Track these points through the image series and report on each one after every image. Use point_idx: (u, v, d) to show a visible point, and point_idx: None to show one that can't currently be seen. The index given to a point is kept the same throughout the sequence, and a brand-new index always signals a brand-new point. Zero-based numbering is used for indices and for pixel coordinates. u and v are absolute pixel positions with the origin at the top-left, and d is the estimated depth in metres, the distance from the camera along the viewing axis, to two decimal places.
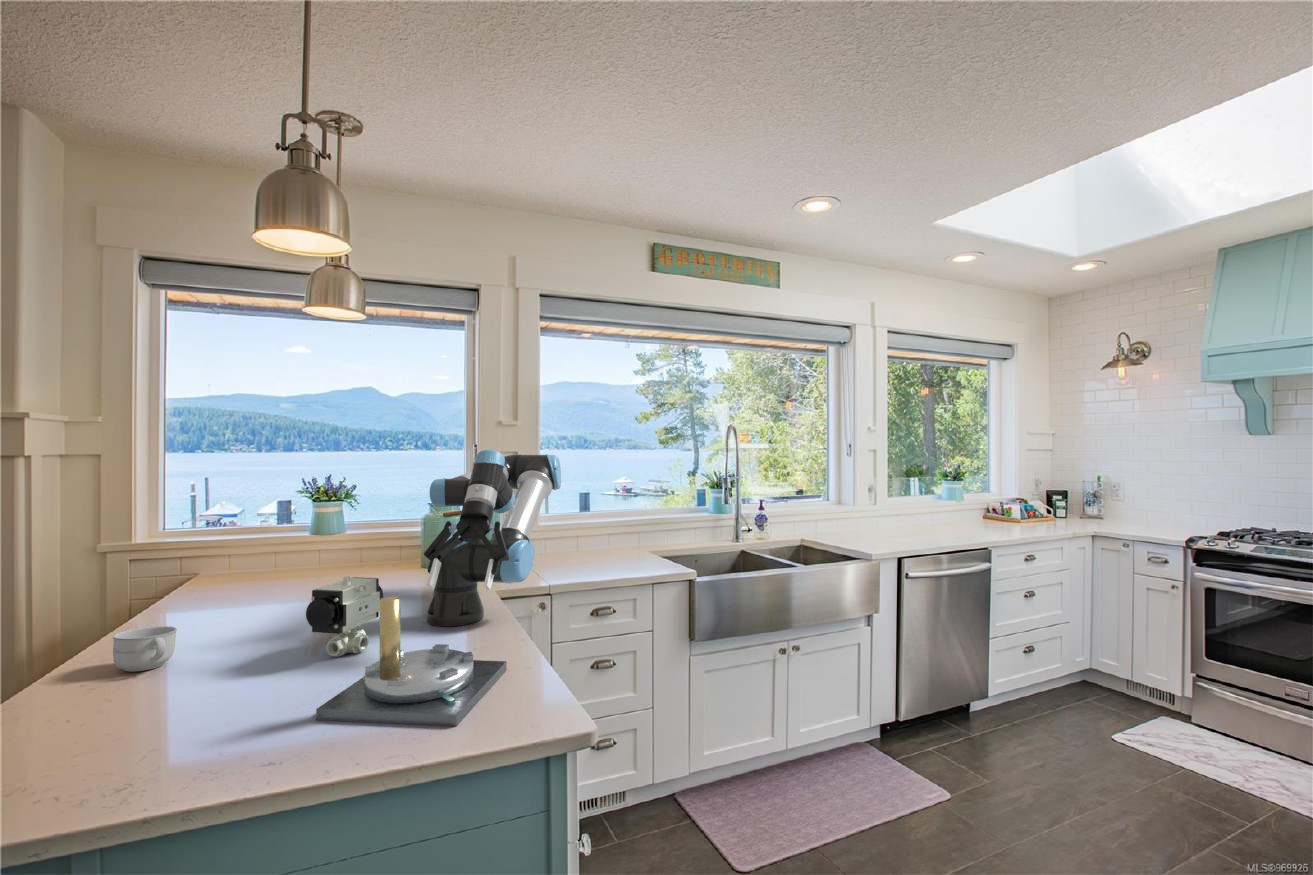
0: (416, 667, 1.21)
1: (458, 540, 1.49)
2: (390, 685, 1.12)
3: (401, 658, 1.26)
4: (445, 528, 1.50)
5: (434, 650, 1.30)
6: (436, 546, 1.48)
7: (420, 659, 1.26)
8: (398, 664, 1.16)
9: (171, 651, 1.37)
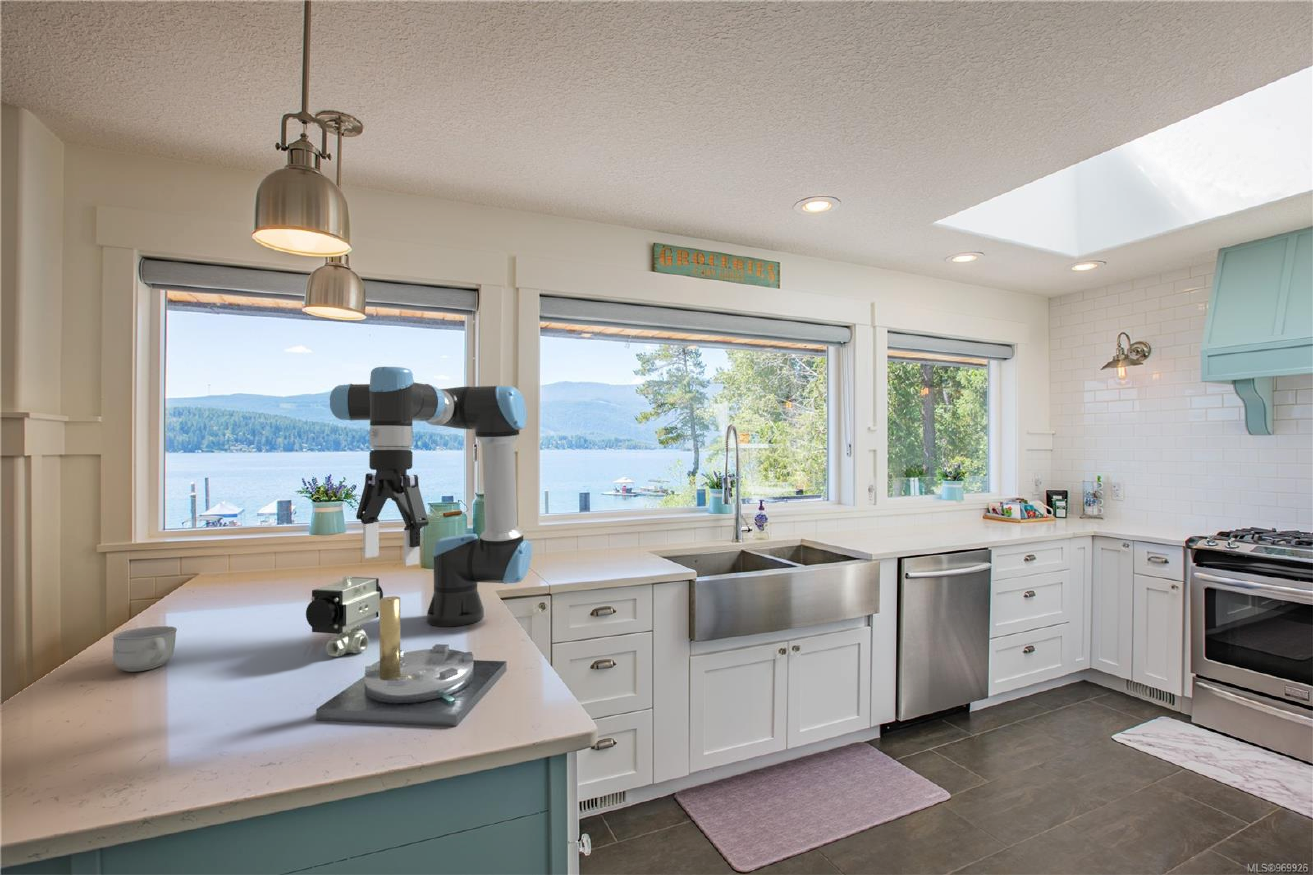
0: (416, 667, 1.21)
1: (382, 497, 1.19)
2: (390, 685, 1.12)
3: (401, 658, 1.26)
4: (366, 483, 1.20)
5: (434, 650, 1.30)
6: (365, 506, 1.21)
7: (420, 659, 1.26)
8: (398, 664, 1.16)
9: (171, 651, 1.37)
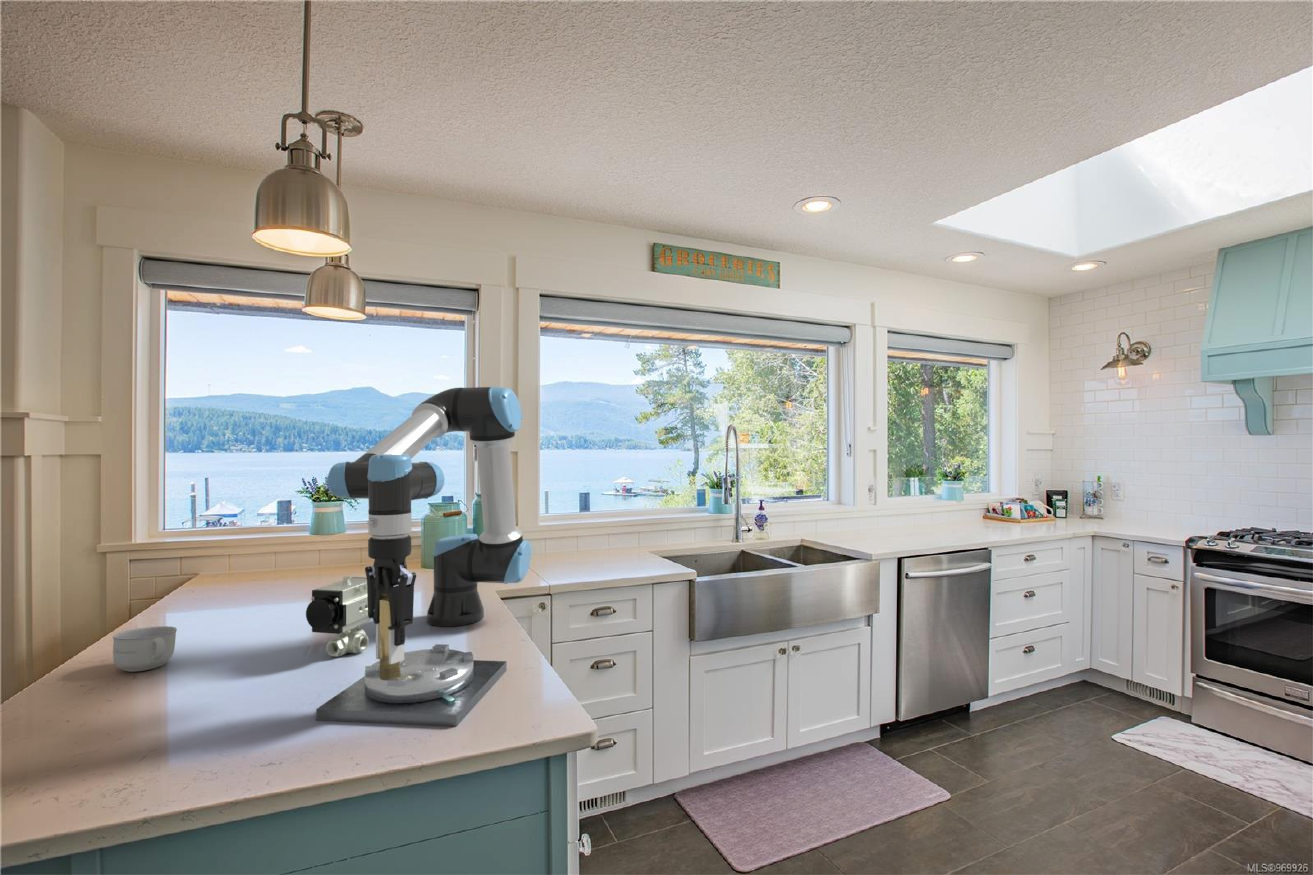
0: (416, 667, 1.21)
1: None
2: (390, 685, 1.12)
3: None
4: (367, 577, 1.19)
5: (434, 650, 1.30)
6: (374, 601, 1.18)
7: (420, 659, 1.26)
8: (398, 664, 1.16)
9: (171, 651, 1.37)
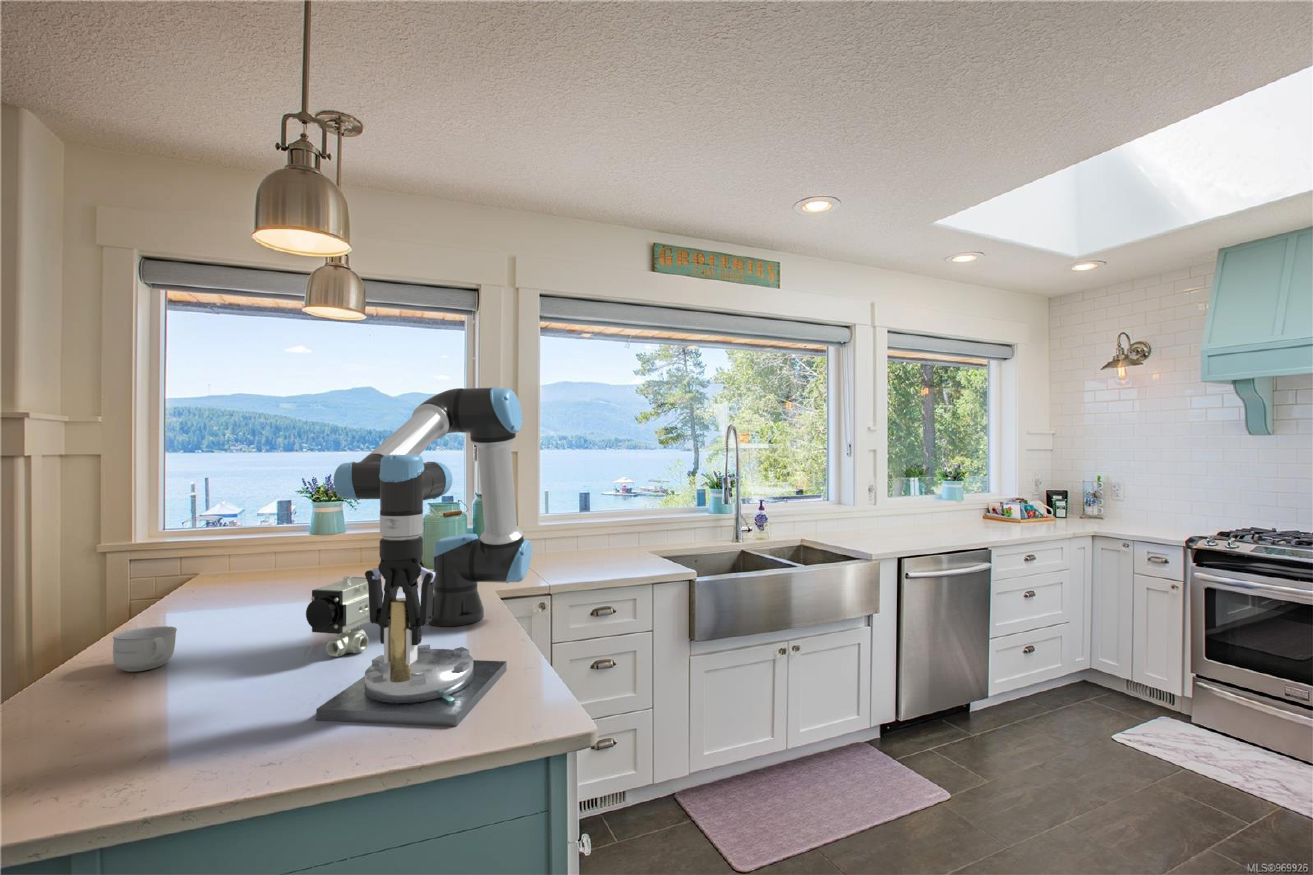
0: (417, 667, 1.21)
1: (394, 588, 1.16)
2: (412, 685, 1.12)
3: None
4: (370, 581, 1.15)
5: (417, 651, 1.29)
6: (377, 605, 1.15)
7: None
8: (410, 665, 1.16)
9: (171, 651, 1.37)
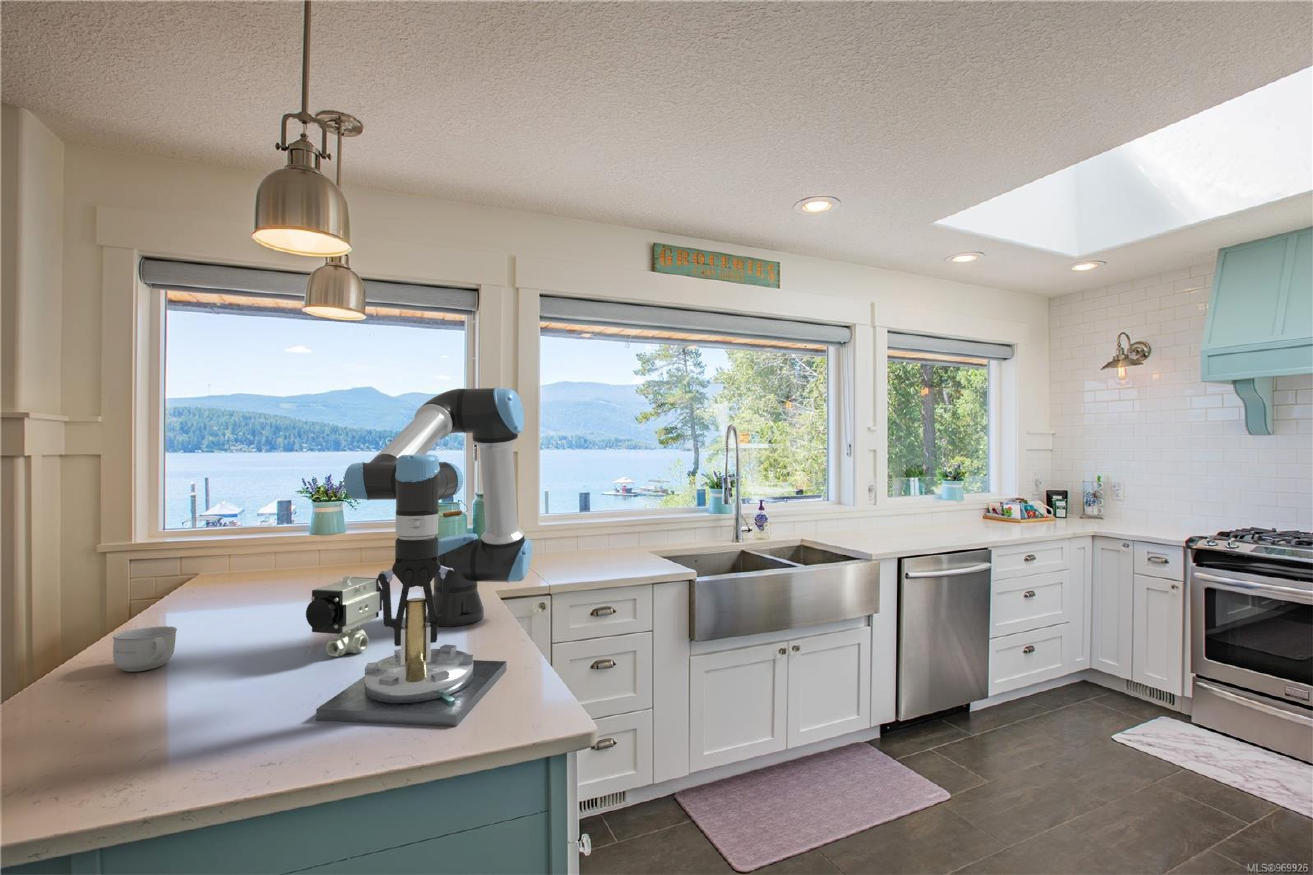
0: None
1: None
2: (438, 680, 1.14)
3: (383, 668, 1.20)
4: (384, 584, 1.13)
5: (400, 655, 1.27)
6: (390, 608, 1.13)
7: None
8: None
9: (171, 651, 1.37)
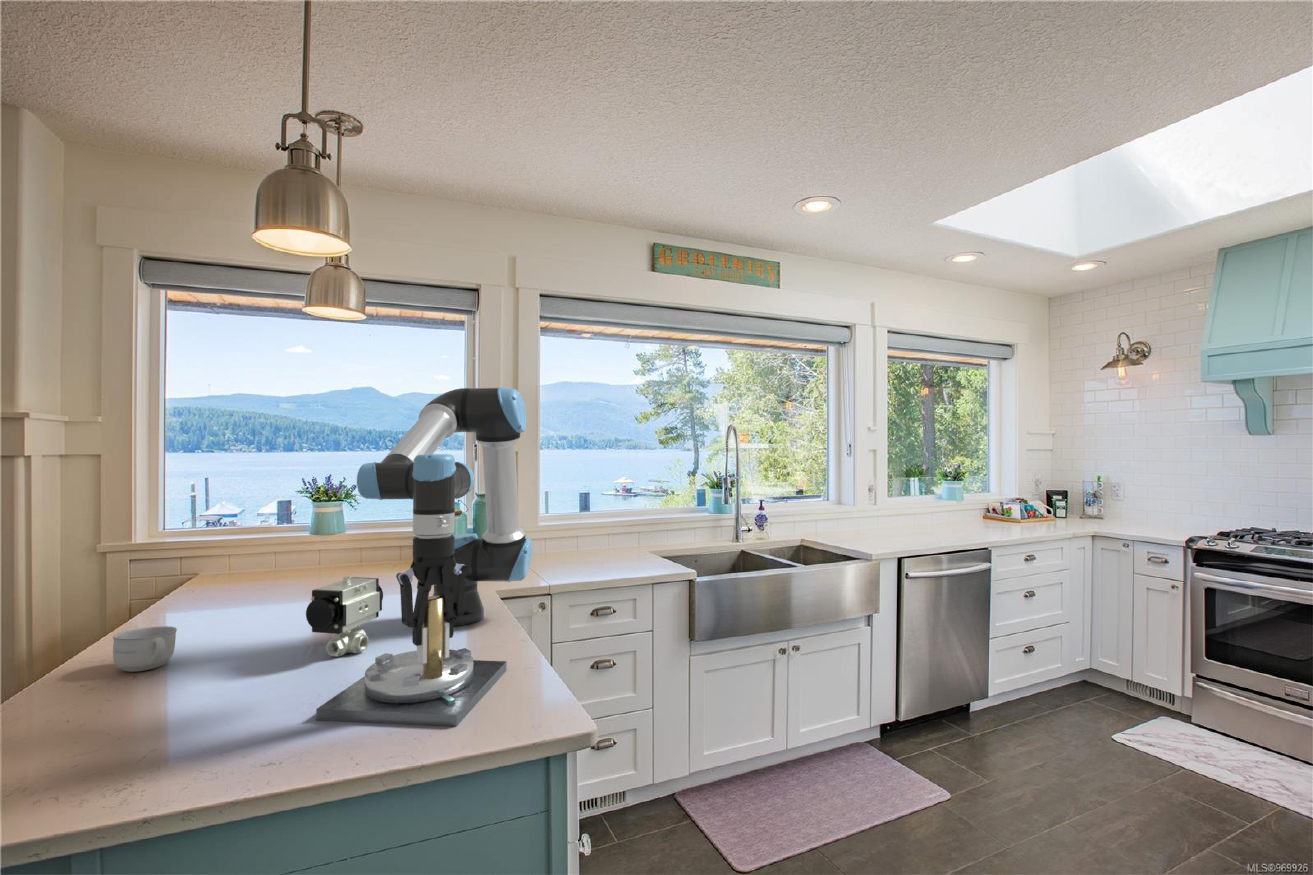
0: (422, 667, 1.21)
1: None
2: (460, 673, 1.18)
3: (384, 674, 1.17)
4: (407, 585, 1.12)
5: (384, 661, 1.23)
6: None
7: (398, 667, 1.21)
8: None
9: (171, 651, 1.37)
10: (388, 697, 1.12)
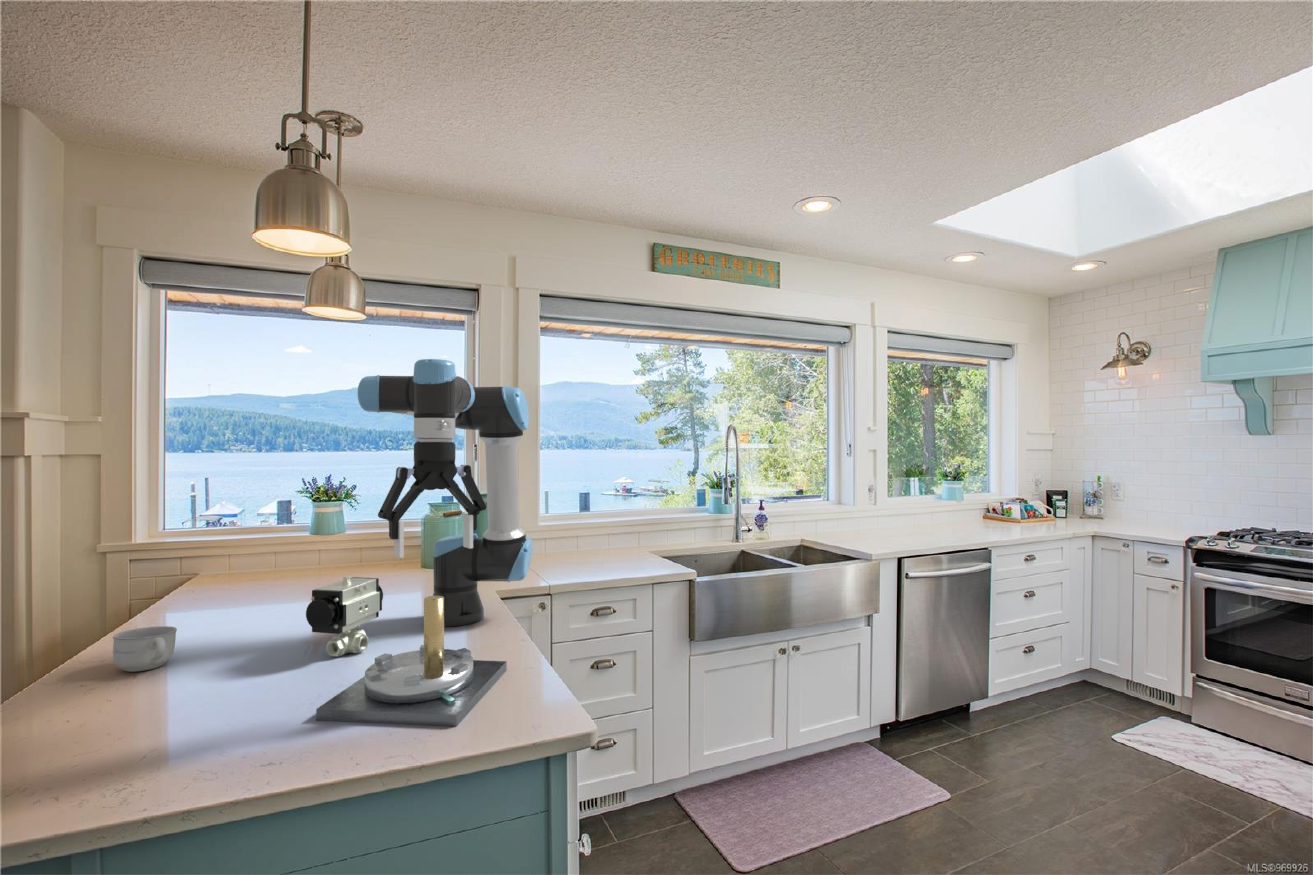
0: (422, 667, 1.21)
1: None
2: (461, 672, 1.18)
3: (384, 674, 1.17)
4: (403, 478, 1.12)
5: (383, 661, 1.23)
6: None
7: (398, 667, 1.21)
8: None
9: (171, 651, 1.37)
10: (389, 697, 1.12)
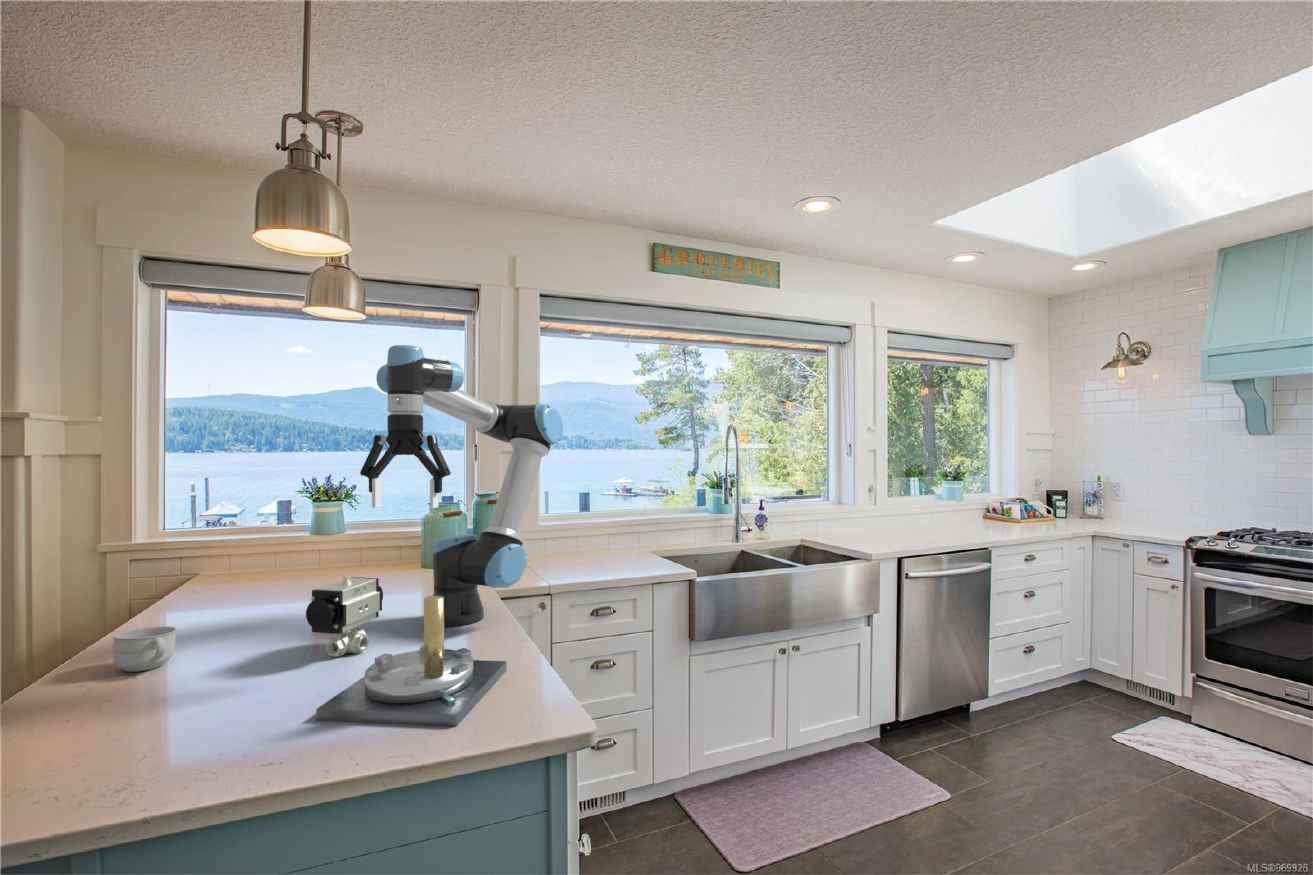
0: (422, 667, 1.21)
1: (392, 455, 1.40)
2: (461, 672, 1.18)
3: (384, 674, 1.17)
4: (375, 444, 1.39)
5: (383, 661, 1.23)
6: (371, 463, 1.40)
7: (398, 667, 1.21)
8: None
9: (171, 651, 1.37)
10: (389, 697, 1.12)
